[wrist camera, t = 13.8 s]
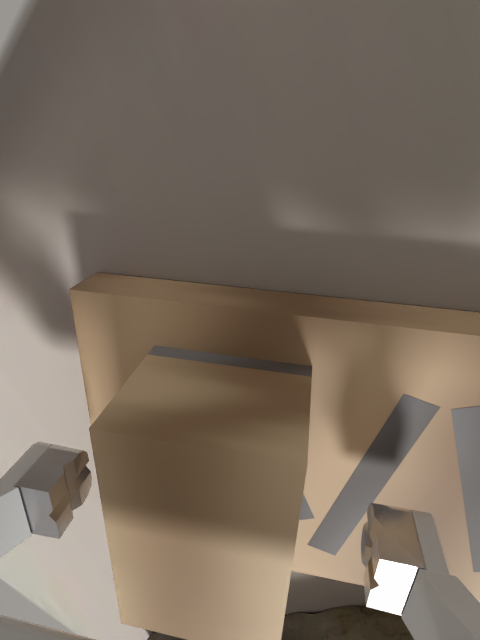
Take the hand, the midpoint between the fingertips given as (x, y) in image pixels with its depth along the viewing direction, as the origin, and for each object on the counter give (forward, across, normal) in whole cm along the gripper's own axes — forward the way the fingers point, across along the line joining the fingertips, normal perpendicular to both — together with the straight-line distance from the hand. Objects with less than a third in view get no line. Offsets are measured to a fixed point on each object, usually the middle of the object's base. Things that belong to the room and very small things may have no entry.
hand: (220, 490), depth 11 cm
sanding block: (+1, 0, 0) cm, 1 cm away
